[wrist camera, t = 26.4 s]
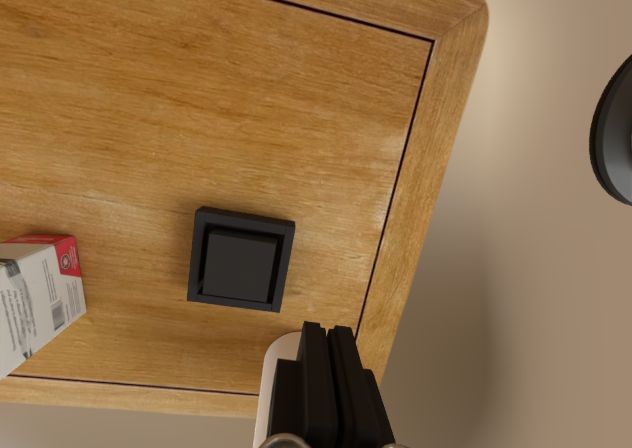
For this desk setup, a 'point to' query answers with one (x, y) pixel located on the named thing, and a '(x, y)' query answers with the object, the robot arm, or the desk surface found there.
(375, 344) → the desk surface
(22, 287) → the ink box
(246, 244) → the black pad
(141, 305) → the desk surface
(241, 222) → the socket pad
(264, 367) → the cup
